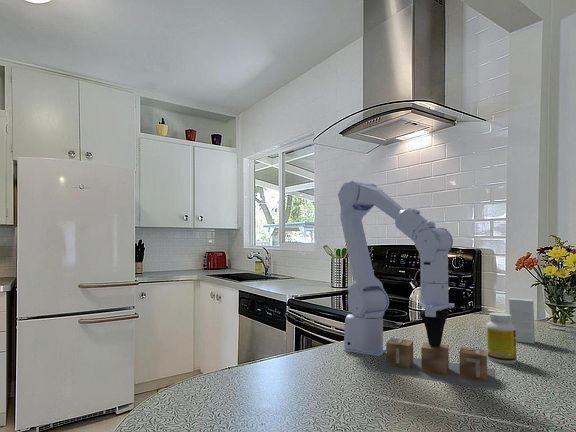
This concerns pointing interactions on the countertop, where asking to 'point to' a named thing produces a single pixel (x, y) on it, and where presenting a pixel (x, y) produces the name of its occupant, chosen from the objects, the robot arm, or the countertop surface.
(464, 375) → the digit block 7
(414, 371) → the mat
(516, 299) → the skincare box
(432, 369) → the plain block
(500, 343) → the pill bottle
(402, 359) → the digit block 1
